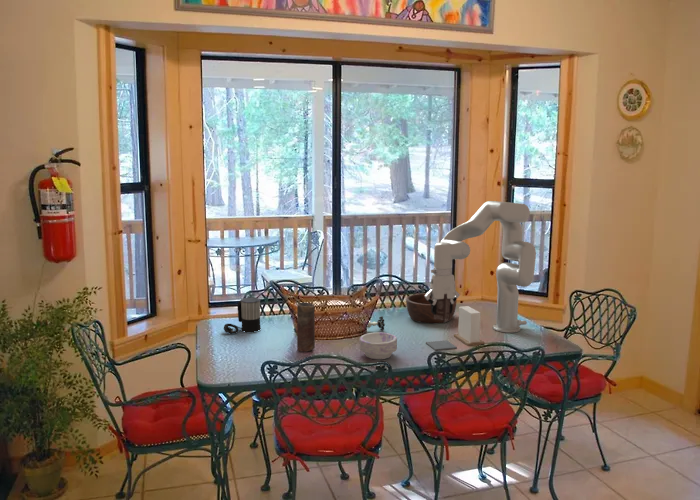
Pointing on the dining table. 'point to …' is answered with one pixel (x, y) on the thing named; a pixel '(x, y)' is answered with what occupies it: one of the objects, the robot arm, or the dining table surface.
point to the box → (442, 309)
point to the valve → (378, 323)
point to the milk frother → (247, 316)
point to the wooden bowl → (422, 309)
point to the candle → (305, 327)
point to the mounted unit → (469, 326)
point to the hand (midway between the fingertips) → (441, 312)
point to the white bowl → (378, 345)
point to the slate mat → (441, 345)
